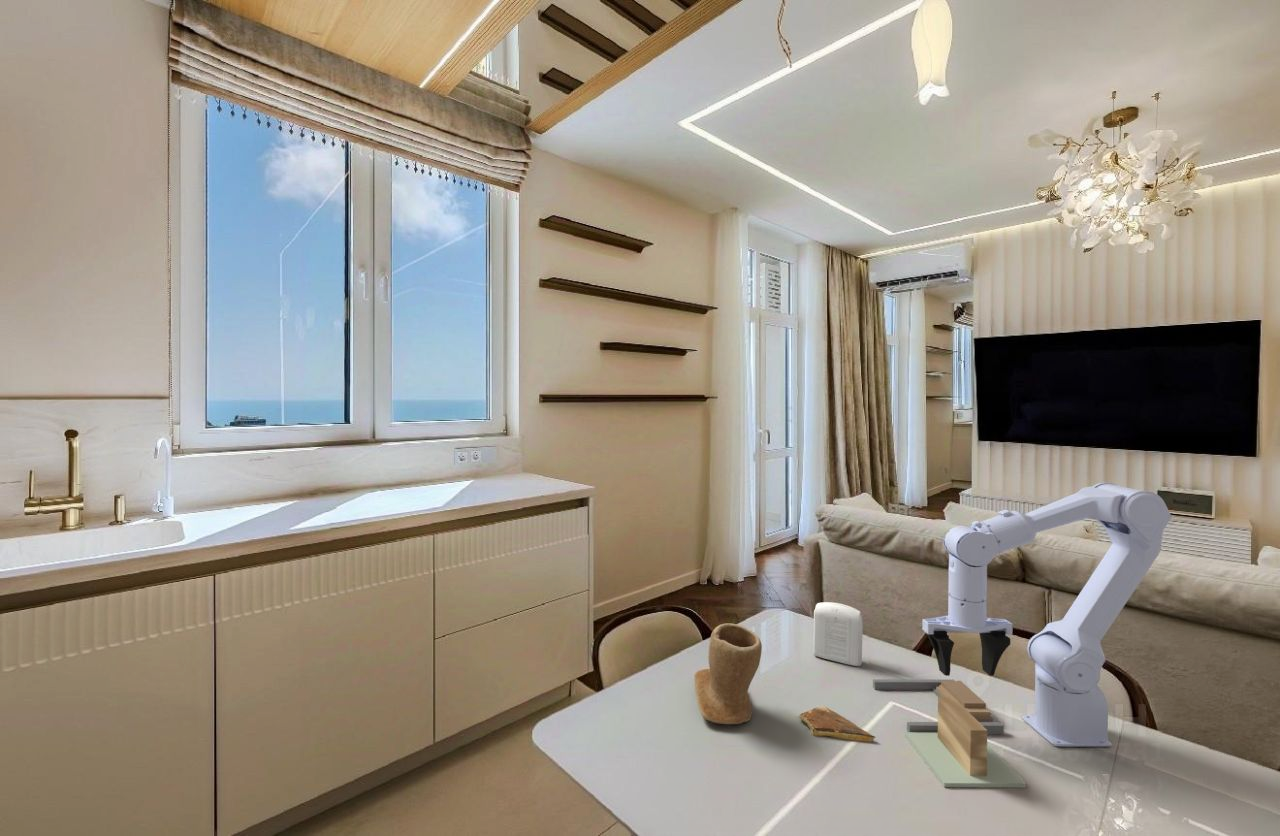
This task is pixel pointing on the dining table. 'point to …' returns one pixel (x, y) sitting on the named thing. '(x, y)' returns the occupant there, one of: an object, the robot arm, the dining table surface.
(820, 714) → the shard
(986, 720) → the offcut rack
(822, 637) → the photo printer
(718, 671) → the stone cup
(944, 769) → the sage mat
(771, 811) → the dining table surface
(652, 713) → the dining table surface
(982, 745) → the oak block
